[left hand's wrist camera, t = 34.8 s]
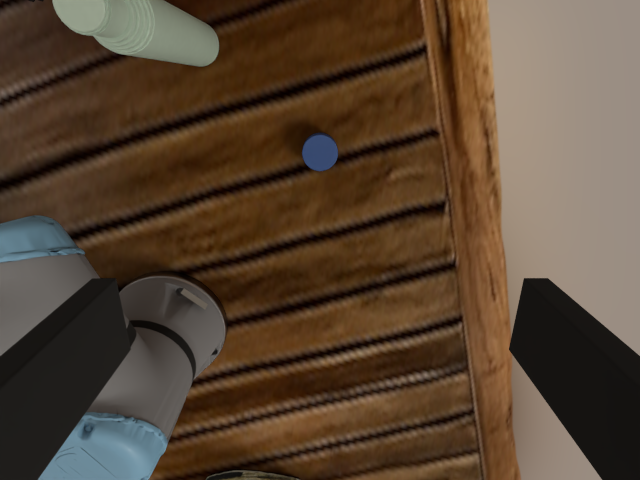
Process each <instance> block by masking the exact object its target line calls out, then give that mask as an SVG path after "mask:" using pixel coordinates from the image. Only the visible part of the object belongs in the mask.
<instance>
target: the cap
mask: <svg viewBox="0 0 640 480" xmlns="http://www.w3.org/2000/svg"><path fill="white" fill-rule="evenodd" d="M302 156H303V159H304V162H305V163H306V164H307V166H308V167H310V168H311V169H313V170H316V171H324V170H327V169H329V168H330V167H332V166H333V165H334V163H335V162H336V160H337V157H338V149H337V145H336V143H335V141H334V139H333V138H332V137H331V136H329V135H328V134H325V133H315V134H313V135H311V136H310V137H308V138H307V140H306V141H305V143H304V146H303V150H302Z"/></svg>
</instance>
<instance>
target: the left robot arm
mask: <svg viewBox="0 0 640 480" xmlns="http://www.w3.org/2000/svg"><path fill="white" fill-rule="evenodd" d="M84 254H85V252H84V250H82V249H80V248H78V247H77V245H76V244H75V243H74V242H73V240H72V239H71V238H70V236H69V235H68V234H67V232H66V231H65V230H64V229H63V227H62V226H61V225H60V224H59V223H58V222H57V221H55V220H54V219H52V218H49V217H46V216H29V217H24V218H20V219H16V220H12V221H9V222H5V223H2V224H0V480H148V479H149V478H150V476H151V474H152V472H153V470H154V468H155V466H156V464H157V462H158V461H159V459H160V457H161V456H162V455H163V454H164V452H165V450H166V447H167V444H168V441H169V439H170V436H171V434H172V431H173V429H174V426H175V424H176V421H177V419H178V416H179V414H180V412H181V409H182V407H183V404H184V402H185V399H186V397H187V394H188V392H189V389H190V387H191V384H192V382H193V380H194V379H195V378H196V377H197V376H198V375H199V374H200V373H201V372H202V371H203V370H204V369H205V368H207V367H208V366H209V365H210V364H211V363H212V362H213V361H214V359H215V358H216V357H217V356H218V354H219V353H220V351H221V349H222V347H223V344H224V341H225V339H226V335H227V329H228V323H227V317H226V313H225V310H224V308H223V306H222V304H221V302H220V301H219V299H218V298H217V297H216V295H215V294H214V293H213V292H212V291H211V290H210V289H209V288H207V287H206V286H205V285H204V284H202V283H201V282H199V281H197V280H195V279H193V278H191V277H189V276H186V275H183V274H179V273H174V272H153V273H148V274H145V275H142V276H140V277H138V278H136V279H134V280H133V281H131V282H130V283H129V284H127V285H126V286H125V287H124V288H123V289H122V290H121V292H120V293H119V290H118V286H117V281H116V278H100V277H99V276H98V274H97V273H96V271H95V270H94V268H93V267H92V265H91V264H90V263H89V261H88V260H87V258H86V257H85V255H84ZM509 350H510V352H511V353H512V354H513V356H514V357H515V359H516V360H517V361H518V363H519V364H520V366H521V367H522V368H523V370H524V371H525V373H526V374H527V375H528V377H529V378H530V379H531V381H532V382H533V384H534V385H535V386H536V388H537V389H538V391H539V392H540V393H541V395H542V396H543V398H544V399H545V400H546V402H547V403H548V405H549V406H550V407H551V409H552V410H553V412H554V413H555V414H556V416H557V417H558V419H559V420H560V421H561V423H562V424H563V425H564V427H565V428H566V430H567V431H568V433H569V434H570V435H571V437H572V438H573V439H574V441H575V442H576V444H577V445H578V446H579V448H580V449H581V451H582V452H583V453H584V455H585V456H586V458H587V459H588V460H589V462H590V463H591V465H592V466H593V467H594V469H595V470H596V472H597V473H598V474H599V476H600V477H601V479H602V480H640V356H639V355H638V354H637V353H635V352H634V351H633V350H632V349H631V348H630V347H628V346H627V345H626V344H625V343H624V342H622V341H621V340H620V339H619V338H618V337H617V336H615V335H614V334H613V333H612V332H611V331H609V330H608V329H607V328H606V327H605V326H604V325H602V324H601V323H600V322H599V321H598V320H596V319H595V318H594V317H593V316H592V315H591V314H589V313H588V312H587V311H586V310H585V309H583V308H582V307H581V306H580V305H579V304H578V303H576V302H575V301H574V300H573V299H572V298H570V297H569V296H568V295H567V294H566V293H565V292H563V291H562V290H561V289H560V288H559V287H557V286H556V285H555V284H554V283H553V282H552V281H550V280H549V279H548V278H524V281H523V286H522V291H521V295H520V300H519V305H518V309H517V314H516V319H515V323H514V328H513V333H512V338H511V342H510V347H509Z"/></svg>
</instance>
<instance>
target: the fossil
mask: <svg viewBox="0 0 640 480" xmlns="http://www.w3.org/2000/svg"><path fill="white" fill-rule="evenodd" d="M206 480H299V479H297V478H294V477H288V476H284V475H278V474H273V473H264V472H260V471H247V470H235V471H228V472H223V473H220V474H214V475H212V476H209V477H207V479H206Z"/></svg>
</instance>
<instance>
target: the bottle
mask: <svg viewBox="0 0 640 480" xmlns="http://www.w3.org/2000/svg"><path fill="white" fill-rule="evenodd" d="M52 1H53V6H54V9H55V11H56V13H57V15H58V16H59V18H60V19H61V20H62V21H63V23H64V24H66V25H67V26H68V27H69V28H70V29H72V30H73V31H75V32H77V33H80V34H83V35H91V36H94V38H95V39H96V40H97V41H98V42H99V43H100V44H101V45H103V46H104V47H106V48H108V49H109V50H111V51H113V52H116V53H119V54H123V55H130V56H136V57H142V58H149V59H155V60H161V61H168V62H174V63H180V64H187V65H193V66H207V65H209V64H211V63H212V62H213V61H214V60H215V59H216V57H217V55H218V51H219V41H218V37H217V35H216V33H215V31H214V30H213V29H212V28H211V27H210V26H209V25H208V24H206V23H204V22H202V21H201V20H199V19H197V18H195V17H193V16H191V15H190V14H188V13H186V12H184V11H182V10H180V9H179V8H177V7H175V6H173V5H171V4H169V3H168V2H166V1H164V0H52Z"/></svg>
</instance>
